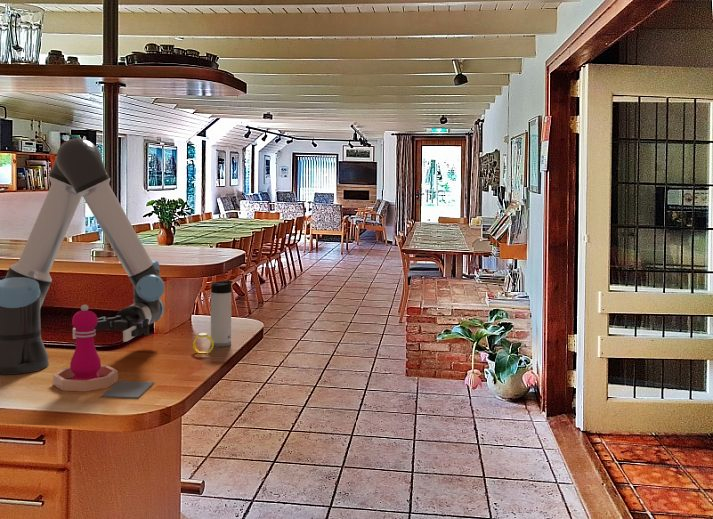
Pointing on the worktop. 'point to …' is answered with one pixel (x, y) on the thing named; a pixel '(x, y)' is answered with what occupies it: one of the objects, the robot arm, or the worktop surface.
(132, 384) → the mat
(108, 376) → the octagonal frame ring
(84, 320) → the pepper mill
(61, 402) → the worktop surface
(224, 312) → the travel mug
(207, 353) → the watch
